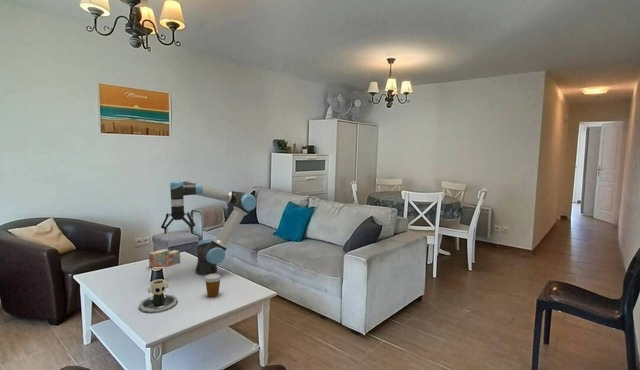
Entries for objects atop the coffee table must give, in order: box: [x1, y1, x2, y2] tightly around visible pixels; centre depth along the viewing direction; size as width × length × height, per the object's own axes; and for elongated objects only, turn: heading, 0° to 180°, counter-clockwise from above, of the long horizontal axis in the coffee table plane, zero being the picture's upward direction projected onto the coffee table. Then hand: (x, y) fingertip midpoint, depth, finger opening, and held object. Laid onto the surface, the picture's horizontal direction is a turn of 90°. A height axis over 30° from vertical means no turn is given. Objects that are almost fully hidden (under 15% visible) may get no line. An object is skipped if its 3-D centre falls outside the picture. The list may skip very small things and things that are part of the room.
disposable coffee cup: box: [204, 273, 222, 298], centre depth 206 cm, size 10×10×12 cm
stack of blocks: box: [148, 248, 181, 270], centre depth 255 cm, size 21×6×12 cm, turn 146°
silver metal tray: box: [138, 293, 179, 314], centre depth 192 cm, size 20×20×2 cm
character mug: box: [147, 278, 169, 305], centre depth 192 cm, size 11×7×13 cm, turn 138°
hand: (178, 238), depth 218 cm, fingers open, 13 cm apart
